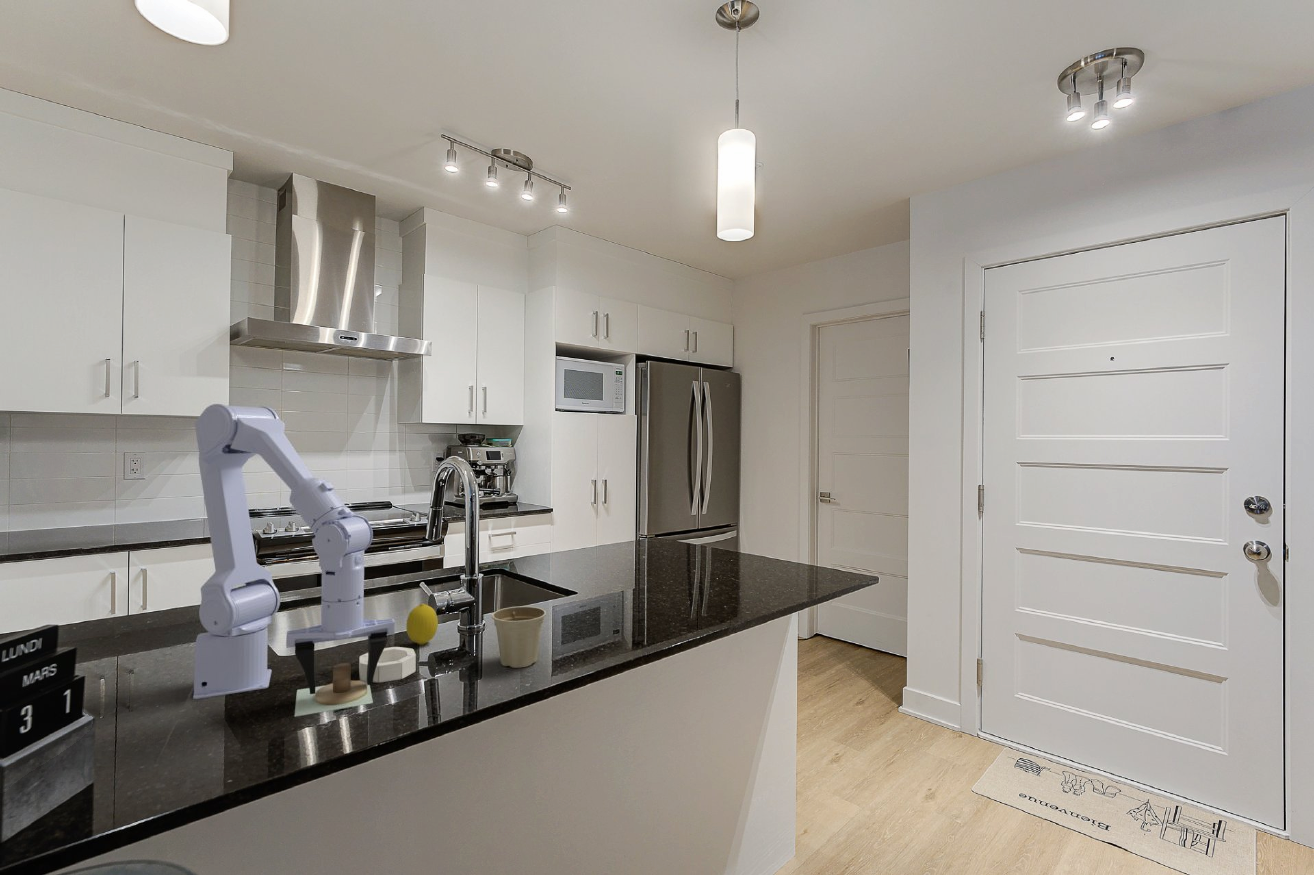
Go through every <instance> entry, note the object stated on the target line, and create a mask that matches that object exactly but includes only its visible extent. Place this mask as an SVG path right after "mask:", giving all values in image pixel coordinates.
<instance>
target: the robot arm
mask: <svg viewBox="0 0 1314 875" xmlns="http://www.w3.org/2000/svg"><path fill="white" fill-rule="evenodd" d="M194 429H195V435H196V440H197V448H198V467H199V472H200V477H201V478H200V479H201V486H202V491H203V499H204V504H205V510H206V516H207V523H208V524H207V525H208V531H209V536H210V543H211V544H210V545H211V549H212V557H213V562H214V563H213V564H214V570H215V571H214V572H213V574H212V575H211V576H210V577H209V579H207V580H206V582H204V583H203V585H202V586H201V587H200V594H201V601H200V606H199V611H198V614H199V621H200V623H201V625H202V626H203V628H204V629H205V630H206V631H207V632H203V633H202V632H201V633H199V634H198V635H197V636H196V639H195V646H194V658H193V659H194V660H193V662H194V663H193V664H194V666H193V670H194V671H193V673H194V674H193V696H192V698H193V700H194V699H195V700H199V699H205V698H210V697H216V696H217V697H218V696H225V695H230V694H236V693H243V692H251V691H255V690H261V689H262V690H264V689H267V688H269V686H270V680H271V676H272V672H273V671H272V669H271V668H269V669H268V638H269V637H268V633H269V631H268V629H269V626H268V625H270V624H272V617H273V616H275V615H276V614H277V612H278V610H279V608H280V606H281V596H280V593H279V590H278V588H277V587H276V585H275V583H274V580H273V576H272V572H271V571H270V570H269V569H267V568H266V567H264V566H262V565H260V564H259V563H258V562H257V556H256V549H255V544H254V542H255V541H254V538H253V531H252V524H251V518H250V512H249V506H248V499H247V493H246V485H245V480H244V475H243V467H244V465H246V463H247V462H248V461H249V459H251V458H252V457H254V456H255V455H259V456H260V457H261V459H262V460H264V462H266V464H267V465H268V466H269V467H270V468H271V469H272V471H274V472H275V474H276V475H277V476H278V477H279V478H280V480H282V481H283V483H284V484H285V485H286V486H287V487H288V488H289V489H290V490H291V491H290V495H289V503H290V504H291V506H292V507H293V508H294V509H295V511H296V512H297V513H298V515H299V516H300V518H301V519H302V520H303V521H304V522H305V524H306V525H307V526H308V528H309V529H310V531H311V532H312V533H313V534H314V536H315V537H313V538H312V539H311V542H312V547H313V549H314V551H315V553H316V555H317V556H318V566H319V567H320V570H321V599H320V600H321V602H320V603H321V605H320V606H321V611H320V612H321V614H320V618H321V620H320V624H319V625H314V626H310V627H305V628H301V629H300V628H299V629H292V630H287V631H286V643H285V644H286V645H285V646H286V649H290V648H294V654H295V656H296V659H297V661H298V662H299V663H300V667H302V669H303V671H304V674H305V677H306V679H307V680H306V681H307V684H308V688H309V689H310V694H315V687H316V682H317V681H316V672H315V671H316V669H315V648H316V647H315V644H317V643H318V644H319V643H326V642H332V641H333V642H334V641H341V640H348V639H356V638H365V637H367V648H368V649H367V650H368V651H367V653H368V666H367V685H370V686H371V685H373V683H374V682H373V677H374V673H375V669H376V666H377V663H378V661H379V658H380V656H381V654H382V652H383V650H384V648H386V647H387V643H388V636H390V635H395V634H396V632H395V631H396V629H395V628H396V623H395V619H394V618H390V619H389V618H387V619H364V599H365V598H364V595H365V594H364V593H365V592H364V590H365V588H364V587H365V551H366V550H367V549H368V548H369V547H370V545H371V544H372V541H373V538H374V532H373V527H372V526H371V524H370V522H369V519H368V518H367V517H365V516H363V515H361V514H355V513H354V511H352V510H351V509H350V508H349V507H347V506H346V505H345V504H344V502H343V501H342V499H340V497H339V496H338V494H337V493H336V492H335V491H334V488H335V486H334V485H333V484H332V483H331V481H327V480H325V479H324V478H318V477H313V475H312V474H311V472H310V470H309V469H308V468H307V466H306V464H305V463H304V462H303V460H302V458H301V457H300V455H299V453H298V452H297V451H296V449H295V448H294V446H293V445H292V443H291V442H290V441H289V438H288V437H287V436H286V434H285V430H286V424H285V422H284V421H283V420H282V419H280V418H279V415H278V414H277V412H276V411H275V410H274V409H273V408H271V407H269V406H243V405H241V406H239V405H225V404H221V403H213V404H211V405H208V406H206V408H205V409H204V410H203V411H202V412H201V414H200V416H198V418H197V419H196V421H195V422H194ZM243 584H245V585H243ZM239 585H242V586H239ZM236 586H238V587H236Z"/></svg>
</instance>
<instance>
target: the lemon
mask: <svg viewBox="0 0 1314 875" xmlns="http://www.w3.org/2000/svg"><path fill="white" fill-rule="evenodd" d="M438 626H439V620H438V616H437V613H436V611H435V609H434V608H433V607H431V606H430V605H428V604H425V602H424V603H420V604H419V605H418V606H416V607H414V608H413V609H412V610H410V612H409V613H408V616H407V620H406V633H407V636H408V638H409V639H410V640H411V641H412V642H414V643H416V644H418V645H419V646H423V645H426V643H428V642H430V641H431V640H432V639H433V638H434V637H435V635H436V633H437V630H438Z"/></svg>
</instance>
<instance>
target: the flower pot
mask: <svg viewBox="0 0 1314 875" xmlns="http://www.w3.org/2000/svg"><path fill="white" fill-rule="evenodd" d="M546 615H547V612H546V610H544V609H543V608H541V607H537V606H530V605H529V606H528V605H527V606H523V605H522V606H521V605H520V606H511V607H506V608H500V609H498V610H496V611H494V612H492V613H491V619H492V620H493V621H494V622H493V623H494V627H495V628H496V634H497V635H496V636H497V642H498V643H497V644H498V651H499V657H500V658H499V659H500V664H501V665H502V666H504V667H507V666H509V667H511V668H514V669H518V668H519V669H520V668H526V667H530V666H532V664H534V663H537V660H538V653H539V652H538V651H539V645H540V639H541V631H542V625H543V623H544V619H545V617H546Z"/></svg>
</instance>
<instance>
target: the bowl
mask: <svg viewBox="0 0 1314 875" xmlns="http://www.w3.org/2000/svg"><path fill="white" fill-rule="evenodd" d="M358 658H359V660H358V661H359V663H358V665H359V666H358V668H359V669H358V674H359V680H367V666H368V652H366V653H364V654H361V655H360V656H359V657H358ZM416 661H417V655H416V652H415V650H414V649H413V648H410V647H403V646H401V647H400V646H391V647H385V648H384V650H383V652H382V654H381V656H380V658H379V661H378V663H377V666H376V669H375V673H374V677H373V683H384V682H385V683H386V682H390V681H391V682H392V681H398V680H401V679H402V680H403V679H404V678H406V677H408V676H410V675H411V674H413V673H415V672H416V671H417V670H416V669H417V666H416V664H417V662H416Z"/></svg>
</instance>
